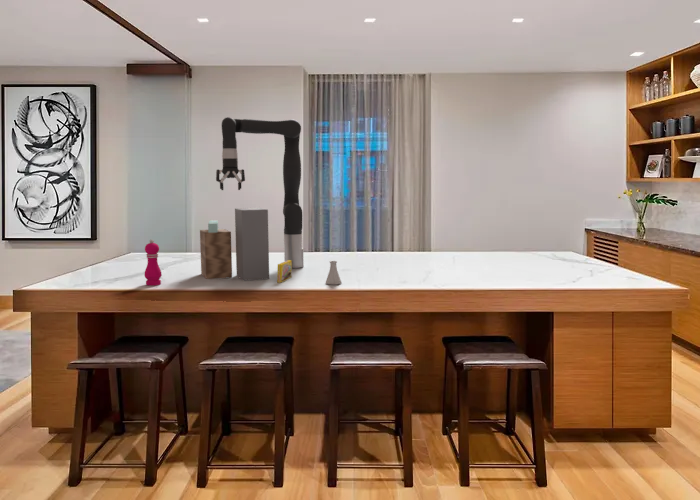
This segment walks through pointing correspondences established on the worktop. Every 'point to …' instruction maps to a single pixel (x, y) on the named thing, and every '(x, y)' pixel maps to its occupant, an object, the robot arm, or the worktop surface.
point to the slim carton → (213, 226)
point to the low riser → (216, 254)
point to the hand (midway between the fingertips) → (230, 190)
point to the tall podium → (252, 243)
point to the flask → (333, 274)
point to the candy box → (284, 271)
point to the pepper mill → (152, 264)
